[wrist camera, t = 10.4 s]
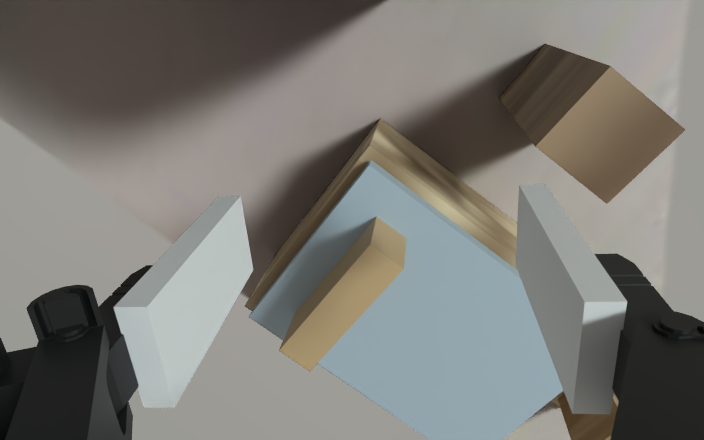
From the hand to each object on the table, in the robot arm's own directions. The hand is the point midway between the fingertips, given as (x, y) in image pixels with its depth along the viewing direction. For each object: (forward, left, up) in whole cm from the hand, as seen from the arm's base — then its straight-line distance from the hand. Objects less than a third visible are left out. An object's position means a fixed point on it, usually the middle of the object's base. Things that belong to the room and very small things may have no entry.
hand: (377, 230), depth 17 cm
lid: (+11, 0, -11) cm, 16 cm away
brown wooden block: (0, +9, -19) cm, 21 cm away
